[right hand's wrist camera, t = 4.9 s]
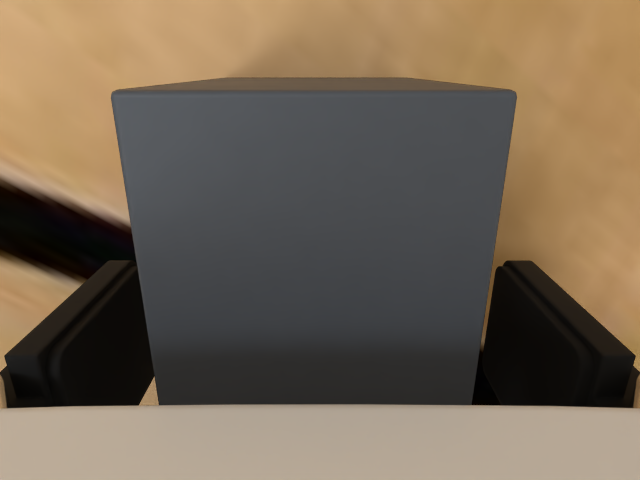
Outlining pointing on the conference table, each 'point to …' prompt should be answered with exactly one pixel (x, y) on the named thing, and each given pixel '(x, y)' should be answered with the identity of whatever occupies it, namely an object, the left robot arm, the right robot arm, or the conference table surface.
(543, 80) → the conference table surface
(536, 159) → the conference table surface
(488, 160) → the bar
